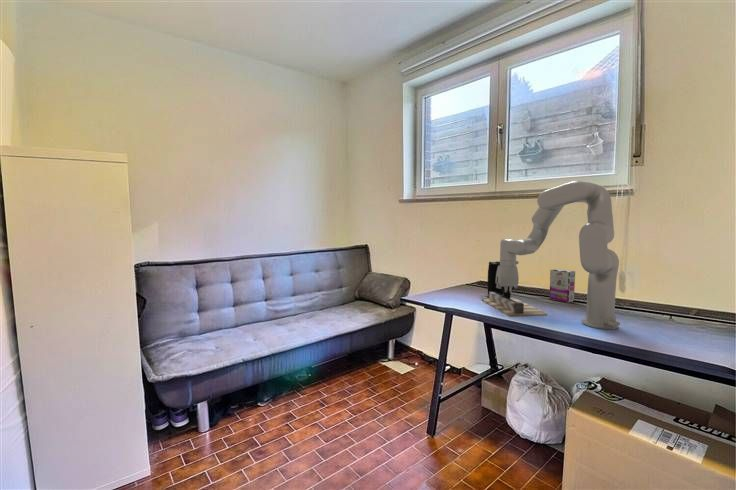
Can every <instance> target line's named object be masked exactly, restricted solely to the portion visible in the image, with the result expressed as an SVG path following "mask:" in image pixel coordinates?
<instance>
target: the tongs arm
mask: <svg viewBox="0 0 736 490" xmlns="http://www.w3.org/2000/svg"><path fill="white" fill-rule="evenodd" d="M493 293H495V294H498V295H500V296H502V297H504V298H506V299H508V300H510V301H512V302H514V303H518V302H516V301H514V300H512V299H510V298H511V297H510V298H507V297H505V296H503V295H501V294H499V293H497V292H493Z"/></svg>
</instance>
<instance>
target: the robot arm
mask: <svg viewBox="0 0 736 490" xmlns="http://www.w3.org/2000/svg"><path fill="white" fill-rule="evenodd" d="M536 200H537V201H536V202H537V205H538V208H537V210H536V211H535V213H534V214H533V215H532V217H531V222H532V223H533V227H532V231H531V232H530V234H529V235H528V237H527V238H523V239H514V238H503V239H500V248H499V252H500V253H499V262H500V266H498V268H497V273H496V284H497V286H496V287H497V288H499V289H501V290H502V291H503V296H505V297H507V298H511V293H512V291H513V290H514V289H518V287H519V270H518V266H517V265H518V264H519V261H518V260H517V256H527V255H533V254H534V253H536V252H537V251H538V250H539V248H541V246H542V245H543V243H544V242H545V240H546V239H547V235H548V233H549V229H550V227H551V226H552V224H553V222H554V220H555V219H556V218H557V217H558V215H559V214H560V213H561V211H562V210H563V209H564V207H565V206H566V205H567V206H568V205H569V204H575V203H585V204H587V210H586V215H587V217H586V218H587V223H586V224H584V225H583V226H582V227H581V228H580V231H579V234H578V246H579V259H580V265H581V267H582V268H583V270H584V271H585V272H587V273H588V277H587V278H588V280H587V291H586V293H587V295H586V311H585V312H586V313H585V314H586V315H585V317H583V318H581V324H583V325H585V326H587V327H591V328H595V329H602V330H616V329H618V328H619V326H620V325H621V322H619V321H617V317H616V316H615V310H616V309H615V307H616V290H617V280H618V279H617V277H618V271H619V266H620V260H619V257H618V254H617V253H616V252H615V251H614V250H612V249H610V248H608V244H610V243H612V241H613V239H614V238H615V229H614V228H615V227H614V215H613V206H612V204H613V203H612V196H611V194H610V193H609V191H608V190H607V189H606V188H605V187H603V185H602V186H601V185H599V184H596V183H593V182H589V181H588V182H587V181H580V180H574V181H570V182H567V183H566V182H565V183H564V184H560V185H558V186H554V187H552V188H549V189H546V190H543V191H542V192H540V194H539V195H538V197H537V199H536Z"/></svg>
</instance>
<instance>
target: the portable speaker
mask: <svg viewBox="0 0 736 490" xmlns="http://www.w3.org/2000/svg"><path fill="white" fill-rule="evenodd" d="M498 266H500V261H489V262H488V268H487V296H488V297H489V292H497V293H499V294H501V295H503V291H502V290H501V289H499V288H497V287H496V286H497V284H496V273H497V268H498Z"/></svg>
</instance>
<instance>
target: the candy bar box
mask: <svg viewBox="0 0 736 490" xmlns="http://www.w3.org/2000/svg"><path fill="white" fill-rule="evenodd" d="M549 276H550V277H549V298H551V299H550V300H553V299H555V300H554V301H557V300H559V301H558V302H563V303H567V304H569V303H570V302H571V303H574V302H575V287H576V286H575V284H576V271H575V270H567V269H560V268H551V269H550V274H549ZM573 301H574V302H573Z"/></svg>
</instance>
